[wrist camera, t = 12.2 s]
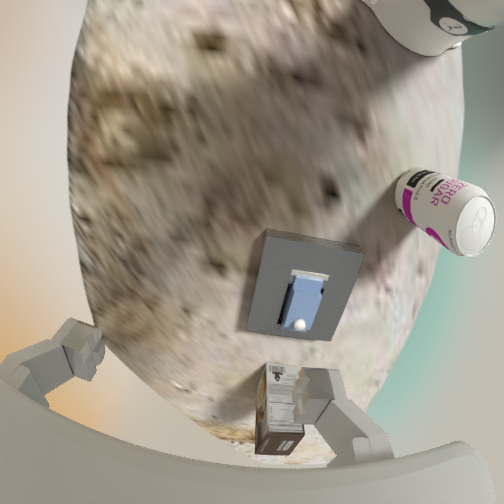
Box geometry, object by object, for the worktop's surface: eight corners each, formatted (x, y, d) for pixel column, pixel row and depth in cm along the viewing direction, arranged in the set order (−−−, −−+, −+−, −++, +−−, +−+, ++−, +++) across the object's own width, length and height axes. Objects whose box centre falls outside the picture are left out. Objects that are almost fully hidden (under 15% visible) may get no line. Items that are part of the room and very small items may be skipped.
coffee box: (285, 392, 53) (289, 456, 38) (255, 389, 52) (253, 455, 38) (297, 364, 49) (305, 435, 34) (264, 361, 49) (265, 433, 34)
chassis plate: (266, 228, 38) (266, 236, 35) (358, 246, 39) (365, 254, 36) (247, 319, 45) (246, 331, 42) (327, 329, 45) (330, 341, 42)
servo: (293, 266, 40) (298, 286, 35) (319, 270, 40) (327, 290, 35) (279, 316, 44) (281, 339, 39) (303, 319, 44) (307, 342, 39)
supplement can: (422, 227, 37) (479, 270, 23) (384, 206, 36) (440, 246, 22) (442, 182, 34) (507, 210, 20) (405, 157, 33) (471, 175, 19)
